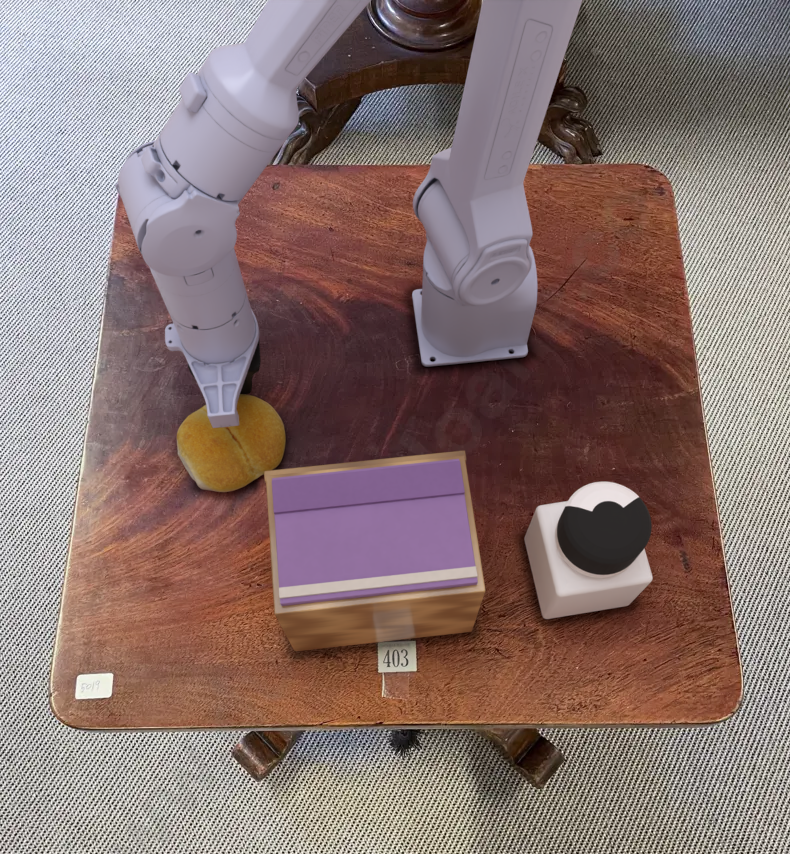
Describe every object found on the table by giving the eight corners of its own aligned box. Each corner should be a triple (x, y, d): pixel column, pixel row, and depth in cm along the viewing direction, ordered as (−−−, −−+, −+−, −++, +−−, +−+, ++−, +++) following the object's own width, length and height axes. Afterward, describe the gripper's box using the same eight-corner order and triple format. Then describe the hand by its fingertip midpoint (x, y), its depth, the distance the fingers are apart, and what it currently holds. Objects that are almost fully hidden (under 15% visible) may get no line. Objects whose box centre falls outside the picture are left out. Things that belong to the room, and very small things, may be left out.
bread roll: (304, 455, 73) (299, 434, 69) (213, 511, 71) (202, 492, 67) (254, 385, 75) (246, 361, 72) (164, 437, 74) (152, 415, 70)
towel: (458, 462, 60) (459, 456, 59) (477, 584, 57) (478, 580, 56) (273, 481, 60) (271, 476, 59) (281, 606, 56) (279, 602, 56)
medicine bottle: (630, 606, 68) (675, 559, 57) (542, 621, 68) (570, 576, 57) (607, 523, 71) (646, 462, 59) (522, 536, 70) (546, 478, 59)
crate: (455, 509, 71) (465, 449, 60) (473, 631, 67) (487, 591, 57) (284, 527, 71) (263, 470, 60) (292, 651, 67) (272, 614, 56)
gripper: (148, 219, 63) (190, 323, 76) (149, 390, 58) (194, 472, 71) (244, 210, 64) (269, 315, 76) (253, 380, 59) (279, 463, 71)
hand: (238, 390), depth 74 cm, fingers closed
